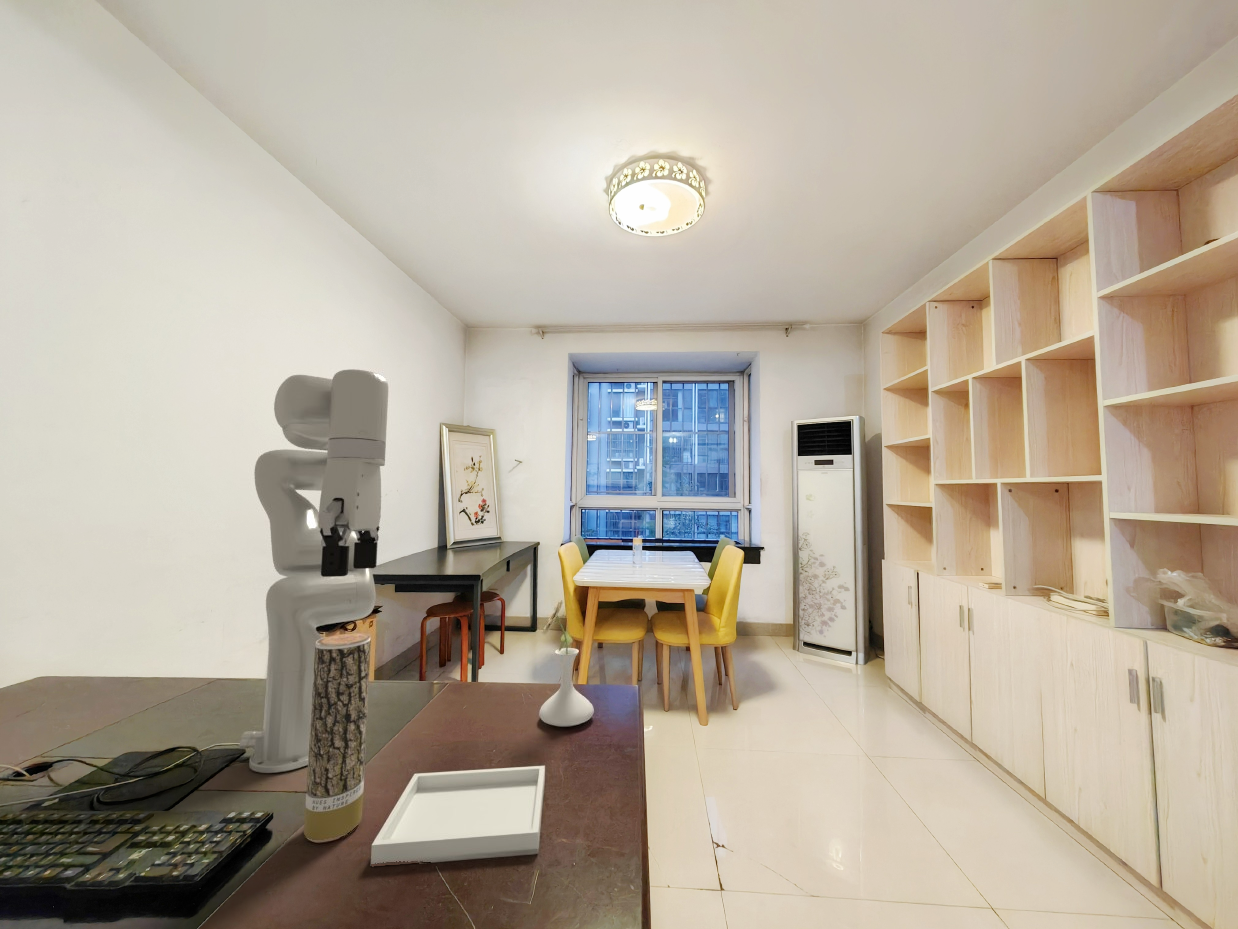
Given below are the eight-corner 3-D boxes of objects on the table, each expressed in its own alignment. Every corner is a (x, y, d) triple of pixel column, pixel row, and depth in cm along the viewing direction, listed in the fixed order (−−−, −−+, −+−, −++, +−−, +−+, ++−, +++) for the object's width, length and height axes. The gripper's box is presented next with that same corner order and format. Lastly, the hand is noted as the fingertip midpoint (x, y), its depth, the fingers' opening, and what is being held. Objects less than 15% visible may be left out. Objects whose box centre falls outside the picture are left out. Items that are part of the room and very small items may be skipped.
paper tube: (372, 821, 65) (381, 635, 68) (324, 852, 59) (336, 647, 62) (340, 808, 68) (350, 631, 71) (291, 837, 62) (304, 642, 65)
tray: (370, 867, 57) (371, 845, 57) (413, 791, 73) (414, 773, 73) (538, 853, 59) (538, 832, 59) (544, 782, 75) (544, 765, 75)
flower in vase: (553, 706, 105) (554, 591, 107) (601, 712, 101) (601, 593, 104) (524, 732, 92) (526, 601, 95) (578, 740, 89) (578, 604, 92)
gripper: (355, 461, 78) (349, 566, 76) (297, 445, 61) (288, 580, 59) (403, 461, 79) (398, 565, 77) (358, 446, 62) (351, 579, 60)
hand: (350, 571), depth 68 cm, fingers open, 9 cm apart
